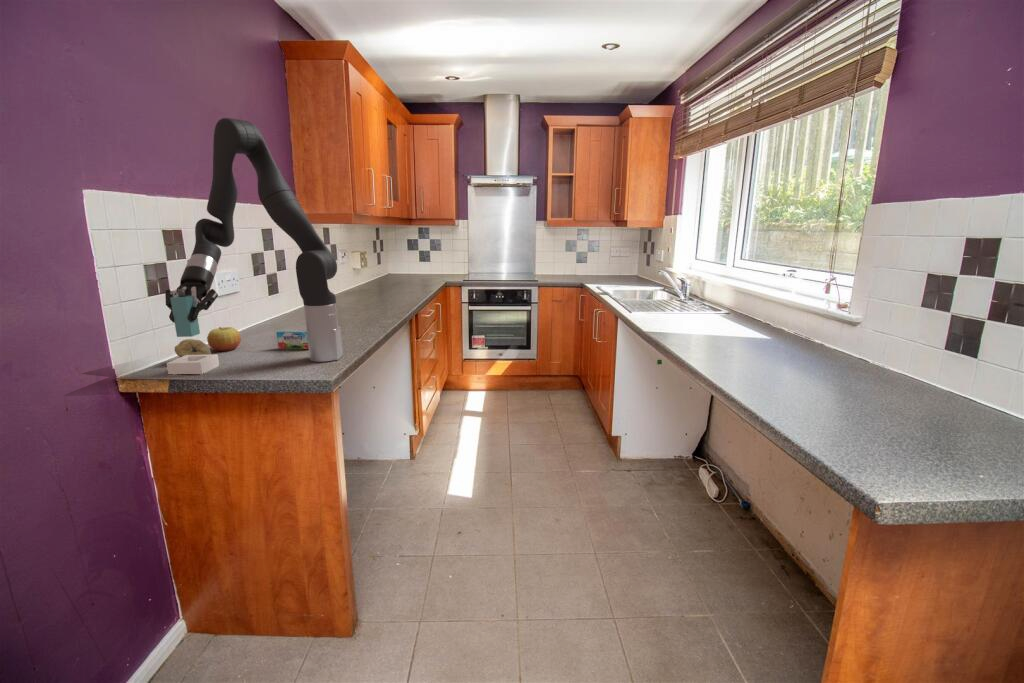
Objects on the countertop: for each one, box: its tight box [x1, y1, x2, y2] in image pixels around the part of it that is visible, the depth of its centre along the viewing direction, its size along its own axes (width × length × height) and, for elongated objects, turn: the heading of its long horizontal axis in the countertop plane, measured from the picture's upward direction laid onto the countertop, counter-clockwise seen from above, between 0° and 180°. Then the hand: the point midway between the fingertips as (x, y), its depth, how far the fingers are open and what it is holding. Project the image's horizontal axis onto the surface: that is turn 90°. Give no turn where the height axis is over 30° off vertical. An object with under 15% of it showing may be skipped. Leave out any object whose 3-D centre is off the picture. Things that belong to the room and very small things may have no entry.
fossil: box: [174, 338, 212, 358], centre depth 145 cm, size 9×4×10 cm
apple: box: [206, 326, 242, 352], centre depth 159 cm, size 10×10×8 cm
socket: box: [166, 353, 220, 375], centre depth 135 cm, size 9×9×4 cm
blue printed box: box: [276, 330, 309, 350], centre depth 159 cm, size 12×2×6 cm, turn 83°
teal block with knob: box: [170, 289, 201, 338], centre depth 132 cm, size 4×4×13 cm
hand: (181, 320), depth 130 cm, fingers closed on teal block with knob, 4 cm apart
